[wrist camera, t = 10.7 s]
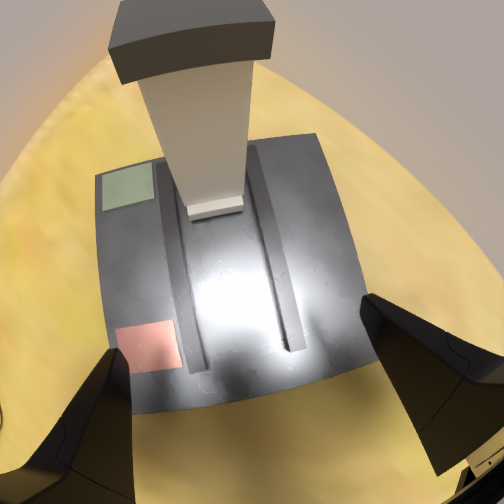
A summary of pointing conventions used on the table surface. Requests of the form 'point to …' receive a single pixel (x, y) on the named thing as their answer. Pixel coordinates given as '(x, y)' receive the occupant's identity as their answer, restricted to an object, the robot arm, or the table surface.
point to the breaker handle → (196, 88)
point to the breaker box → (230, 281)
